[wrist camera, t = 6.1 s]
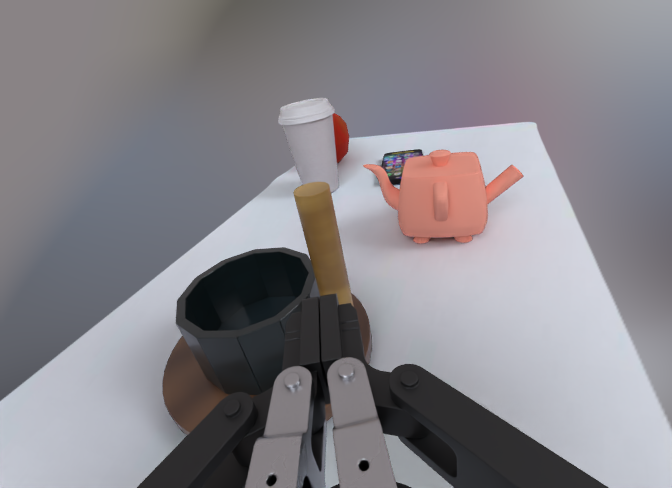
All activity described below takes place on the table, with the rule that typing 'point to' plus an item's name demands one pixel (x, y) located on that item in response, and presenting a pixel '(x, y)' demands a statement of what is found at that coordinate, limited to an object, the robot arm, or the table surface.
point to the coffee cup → (311, 140)
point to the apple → (340, 137)
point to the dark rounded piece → (253, 314)
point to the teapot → (443, 195)
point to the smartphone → (397, 163)
